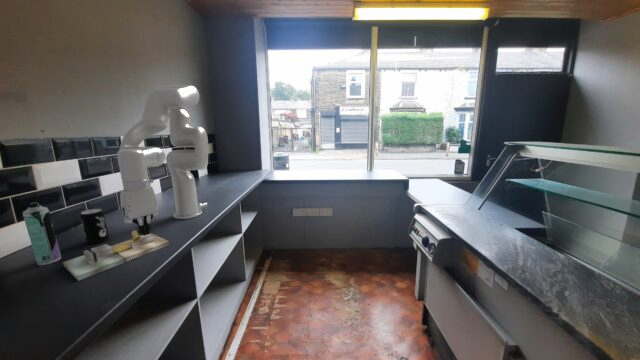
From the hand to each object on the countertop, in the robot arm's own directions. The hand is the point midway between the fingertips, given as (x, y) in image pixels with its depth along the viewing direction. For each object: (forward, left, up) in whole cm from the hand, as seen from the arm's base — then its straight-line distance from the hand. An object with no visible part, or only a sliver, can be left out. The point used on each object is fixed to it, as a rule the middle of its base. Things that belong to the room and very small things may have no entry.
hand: (145, 233), depth 91 cm
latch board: (+8, 0, -5) cm, 9 cm away
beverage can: (+8, -21, -5) cm, 23 cm away
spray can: (+22, -16, -5) cm, 28 cm away
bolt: (+6, 0, -3) cm, 7 cm away
